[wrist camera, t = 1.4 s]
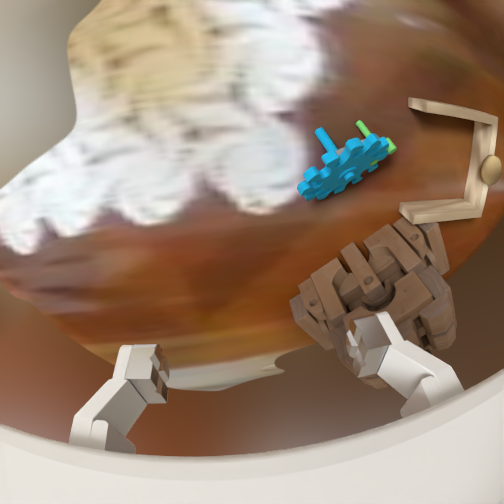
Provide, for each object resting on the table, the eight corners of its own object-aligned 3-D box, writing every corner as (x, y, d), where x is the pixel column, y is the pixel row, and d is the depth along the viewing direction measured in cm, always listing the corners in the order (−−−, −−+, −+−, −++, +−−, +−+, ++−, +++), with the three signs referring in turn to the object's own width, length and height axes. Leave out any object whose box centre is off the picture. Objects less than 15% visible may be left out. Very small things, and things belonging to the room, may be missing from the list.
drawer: (408, 96, 25) (431, 102, 21) (486, 112, 25) (507, 120, 22) (398, 211, 33) (416, 227, 29) (472, 205, 33) (489, 219, 30)
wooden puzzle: (415, 195, 32) (514, 288, 17) (438, 264, 39) (503, 349, 24) (278, 290, 38) (310, 420, 23) (327, 338, 45) (361, 439, 30)
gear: (301, 216, 30) (308, 176, 21) (276, 171, 32) (271, 119, 22) (384, 177, 30) (415, 131, 20) (357, 137, 31) (376, 83, 22)
